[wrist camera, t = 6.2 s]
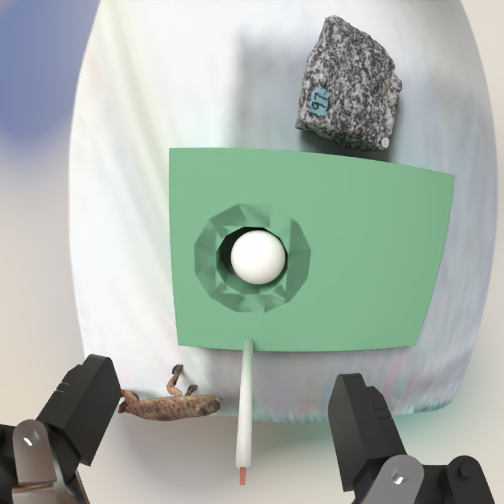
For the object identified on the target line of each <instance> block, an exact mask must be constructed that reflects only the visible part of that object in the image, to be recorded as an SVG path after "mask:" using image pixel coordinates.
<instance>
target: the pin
mask: <svg viewBox="0 0 504 504" xmlns="http://www.w3.org/2000/svg"><path fill="white" fill-rule="evenodd" d="M252 384H253V339H252V338H250V337H246V338H245V339H244V342H243V358H242V373H241V388H240V404H239V420H238V435H237V451H236V466H235V467H236V468H237V469H240V485H245V475H246V470H248V469H250V468H251V433H252V432H251V431H252Z"/></svg>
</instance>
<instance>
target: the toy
mask: <svg viewBox="0 0 504 504" xmlns="http://www.w3.org/2000/svg"><path fill="white" fill-rule="evenodd" d="M182 367H183V365H179V364H178V365H176V366H175V367H174V368H173V370H172V374H175V375H174V376H173V377H172V379H171V380H170V381H169V383H168V384H167V386H166V387H167V390H168V392H169V393H170V394H172V395H175V396H172V397H164V398H157V399H151V400H143V401H139V397H138V396H137V395H136V394H135V393H133V392H131V391H127V390H123V389H121V396H120V398H121V397H124V396H125V401H123V402H122V403H121V404H120V406H119V411H118V413H123V412H125V411H126V412H127V413H132V414H134V415H136V416H139V417H141V418H144V419H150V420H157V421H172V420H177V419H181V418H188V417H199V416H206V415H209V414H211V413H214V412H216V411H217V410H219V409H220V401H221V398H220V397H214V396H210V395H200V396H191V394H192V393H193V392H194V391H195V389H196V388H197V385H192V386H190V387H189V388H188V390H187V393H186V394H185V396H181V395H182V392H181V391H180V390H179V389H177V388H176V387H174V386H175V385H176V383H177V380H178V377H179V374H180V371H181V368H182Z"/></svg>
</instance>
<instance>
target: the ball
mask: <svg viewBox="0 0 504 504" xmlns="http://www.w3.org/2000/svg"><path fill="white" fill-rule="evenodd" d="M231 263H232V266H233V269H234V271H235V272H236V274H237V275H238V276H239V277H240V278H241V279H243V280H244V281H246V282H248V283H251V284H265V283H268V282H270V281H272V280H274V279H275V278H276V277H277V276H278V275H279V274H280V273H281V271H282V269H283V267H284V264H285V250H284V247H283V245H282V243H281V242H280V240H279V239H278V238H277V237H276V236H275V235H273V234H272V233H270V232H268V231H264V230H252V231H249V232H247V233H245V234H243V235H242V236H240V237H239V238H238V239H237V241H236V242H235V244H234V246H233V248H232V252H231Z"/></svg>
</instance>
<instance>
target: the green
mask: <svg viewBox="0 0 504 504" xmlns="http://www.w3.org/2000/svg"><path fill="white" fill-rule="evenodd" d="M454 177H455V176H453V175H449V174H444V173H440V172H435V171H431V170H426V169H421V168H416V167H411V166H405V165H400V164H394V163H388V162H382V161H376V160H369V159H362V158H355V157H347V156H339V155H330V154H321V153H310V152H299V151H285V150H269V149H248V148H169V216H170V245H171V265H172V280H173V294H174V306H175V317H176V327H177V337H178V345H181V346H191V347H203V348H216V349H232V350H243V342H244V339H245V338H246V337H250V338H252V339H253V351H349V350H368V349H383V348H396V347H407V346H415V344H416V341H417V339H418V336H419V333H420V330H421V327H422V325H423V322H424V319H425V316H426V312H427V309H428V306H429V303H430V299H431V296H432V293H433V289H434V285H435V282H436V278H437V274H438V270H439V266H440V262H441V257H442V253H443V248H444V243H445V238H446V233H447V228H448V222H449V216H450V210H451V203H452V195H453V187H454ZM242 227H264V228H265V229H267V230H268V231H270V232H272V233H273V234H275V235H276V236H278V237H280V238H281V240H282V242H283V244H284V246H285V264H284V267H283V269H282V271H281V273H280V274H279V275H278V276H277V277H276V278H275V279H274V280H272V281H270V282H268V283H265V284H251V283H248V282H246V281H244V280H242V279H240V278H238V277H236V276H235V275H233V274H231V273H230V272H228V270H227V269H226V267H225V265H224V264H223V262H222V260H221V258H220V244H221V243H222V241H223V240H224V238H225V236H226V235H228V234H230V233H232V232H234V231H236V230H238V229H240V228H242Z"/></svg>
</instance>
